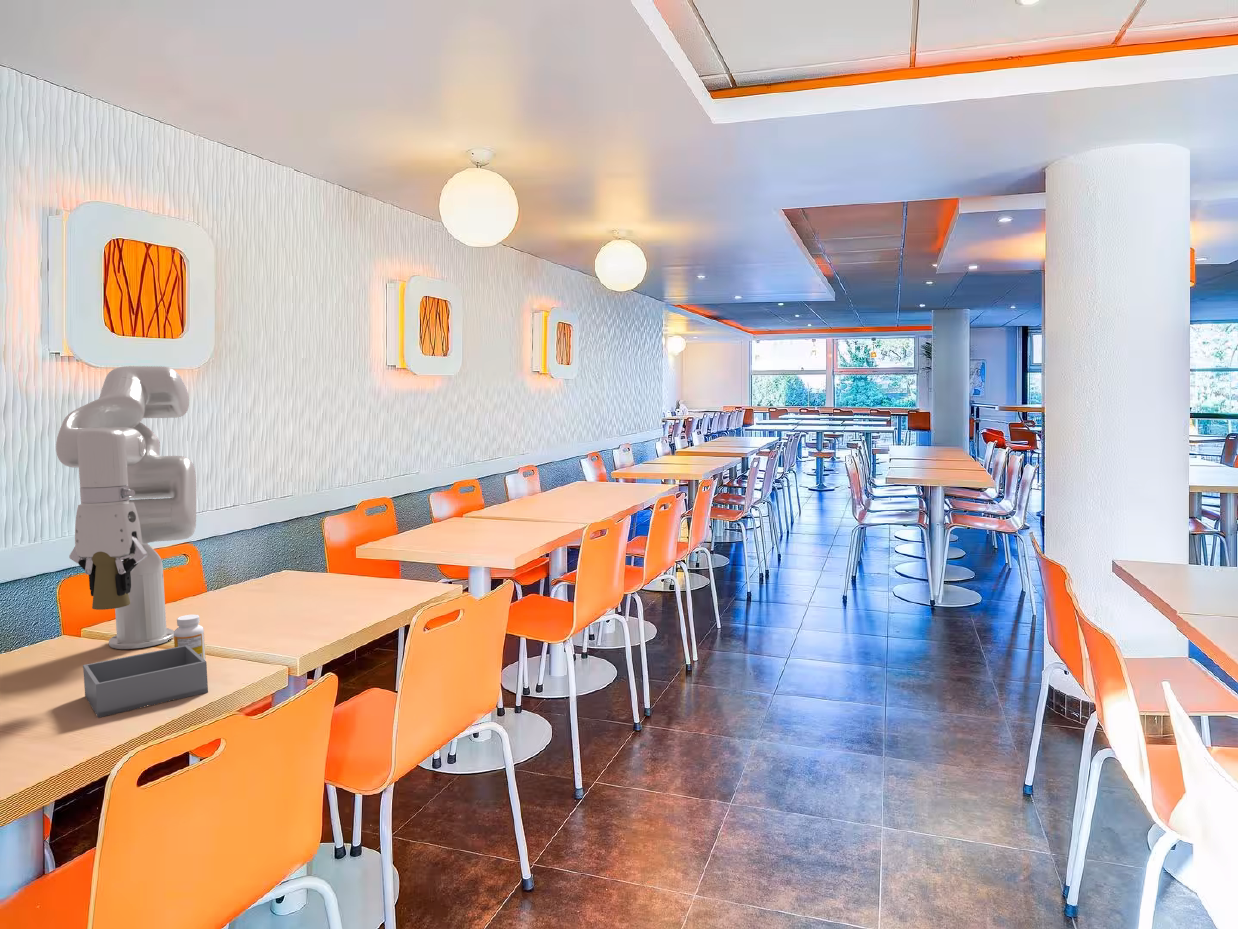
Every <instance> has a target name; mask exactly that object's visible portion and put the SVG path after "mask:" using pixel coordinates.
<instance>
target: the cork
mask: <svg viewBox="0 0 1238 929" xmlns="http://www.w3.org/2000/svg"><path fill="white" fill-rule="evenodd" d="M115 560H116V558H113V557H110V556H109V555H108V554H107V553H105V552H96V553H95V554H94V555H93V557H92V561H93V563H94V564H95V566H96V572H95V583H94V593H93V596H92V606H91V607H92V608H91V609H93V610H96V611H97V610H99V611H102V610H103V611H104V610H112V609H114V610H115V608H120V607H124V606H128V605H130V599H129V594H128V593H127V594H126V593H125V595H122V596H118V595H117V589H116V580H115V576H116V574H119V573H118V569H117V565H116V562H115ZM123 560H124V559H123Z"/></svg>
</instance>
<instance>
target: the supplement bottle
mask: <svg viewBox="0 0 1238 929" xmlns="http://www.w3.org/2000/svg"><path fill="white" fill-rule="evenodd" d="M200 622H201V620H200V616H199V614H185V615H181V616H178V617H177V618H176V625H177V628H176V629H174V638H173V641H174V644H173V646H174V647H173V648H175V647H180V646H185V645H188V646H189V647H190V648H192V649H193V650H194V651H195V652H196V653H197V654H198V655H200V656H201V657H202V658H203V659H204V660H205V661H206V644H205V630H204V627H203V626H202V625H200Z"/></svg>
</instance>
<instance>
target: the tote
mask: <svg viewBox="0 0 1238 929" xmlns="http://www.w3.org/2000/svg"><path fill="white" fill-rule="evenodd" d="M207 665H208V664H207V661H206V659H205V660H204V659H203V658H202V657H201V656H200V655H198V654H197V653H196V652H195V651H194V650H193V649H192V648H190V647H189V646H188V645H185V646H180V647H170V648H165V649H160V650H159V649H158V650H154V651H150V652H145V653H138V654H134V655H129V656H124V657H119V658H113V659H109V660H108V659H107V660H102V661H97V662H93V663H88V664H83V665H82V670H83V684H84V697H85V698H86V700H87V702H88V704H89V705H90V707H91V708H92V710H93V712H94V713H95V715H96V717H97V718H98V719H99V718H102V717H103V718H104V717H107V716H111V715H116V714H120V713H125V712H128V711H129V712H130V711H132V710H138V709H141V708H140V707H143V708H145V707H144V706H147V705H151V706H154V704H155V705H159V704H158V703H160V704H162V703H161V702H164V703H167V702H166V701H168V702H170V701H169V700H173V699H177V700H181V699H185V698H189V697H194V696H198V695H202V694H207V693H209V683H208V667H207ZM173 701H174V700H173ZM147 707H148V706H147ZM137 708H138V709H137Z"/></svg>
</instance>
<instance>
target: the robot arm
mask: <svg viewBox="0 0 1238 929" xmlns="http://www.w3.org/2000/svg"><path fill="white" fill-rule="evenodd" d="M189 405H190V398H189V392H188V389H187V387H186V385H185V382H184V381H183V378H182V377H181V375H180V374H179V373H178V372H177V371H176V370H175V369H173V368H172V367H169V366H161V365H160V366H157V365H156V366H155V365H154V366H153V365H152V366H147V365H146V366H145V365H144V366H141V365H132V366H131V365H127V366H125V365H124V366H120V367H116V368H113V369H112V370H110V371H109V372H108V373H107V374H106V376H105V379H104V381H103V384H102V388H101V390H100V395H99V397H98V399H95V400H93V401H91V402H88V403H86V404H84V405H82V406H80V407H77V408H75V409H74V410H73V411H71V412H69V413H68V414H67V415H66V416H65V417H64V419H63V421H62V423H61V426H60V428H59V431H58V433H57V436H56V444H55V452H56V457H57V459H58V460H59V462H60V463H61V464H62V465H64V466H66V467H69V468H77V469H78V474H79V475H78V477H79V495H80V497H79V498H80V504H77V509H76V514H75V515H76V516H75V522H74V524H75V525H74V545H75V546H74V547H73V548H72V551H71V552H70V554H69V559H70V560H71V561H73V562H75V563H76V564H78V565H79V566H80V567H81V569H82V570H84V573H85V575H87V576H88V583H89V590H90V596H91V597H93V593H94V583H95V572H96V566H95V564H94V563H93V561H92V557H93V555H94V554H95V553H96V552H105V553H107V554H108V555H109V556H110V557H113V558H116V560H115V562H116V565H117V569H118V573H119V574H116V576H115V580H116V589H117V595H118V596H122V595H125V593H126V594H127V593H128V594H129V599H130V605H128V606H124V607H120V608H114V611H115V613H114V614H115V627H116V628H115V629H116V635H114V636H111V638H109V639H108V645H109V647H110V648H113V649H118V650H135V649H142V648H143V649H145V648H149V647H154V646H157V645H162V644H164V643H167V642H169V641H170V640H169V639H171V638H173V637H174V631H175V629H174V630H173V629H172V628H170V627H167V616H166V613H167V612H166V599H165V598H166V597H165V582H164V581H165V580H164V566H163V565H164V564H163V561H162V558H161V556H160V555H159V554H158V552H157V551H156V550H155V549H154V548H153V547H152V546H150V545H149V543H154V542H169V541H170V542H171V541H182V540H187V539H189V538H191V537H192V536H193V535H194V534H195V532H196V526H197V474H196V470H195V469H196V468H195V466H194V464H193V462H192V460H191V459H190V458H188V457H186V456H182V455H160V450H161V448H160V447H161V445H160V444H161V443H160V439H159V438H158V436H157V435H156V434H155V433H154V432H153V431H152V430H151V429H150V428H149V426H146V425H145V424H144V423H142V420H143V419H171V418H172V419H173V418H174V419H175V418H181V417H183V416H185V415H186V413H187V411H188V409H189V407H190V406H189ZM123 559H124V560H123ZM173 639H174V638H173ZM168 640H169V641H168ZM171 640H172V639H171Z"/></svg>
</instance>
